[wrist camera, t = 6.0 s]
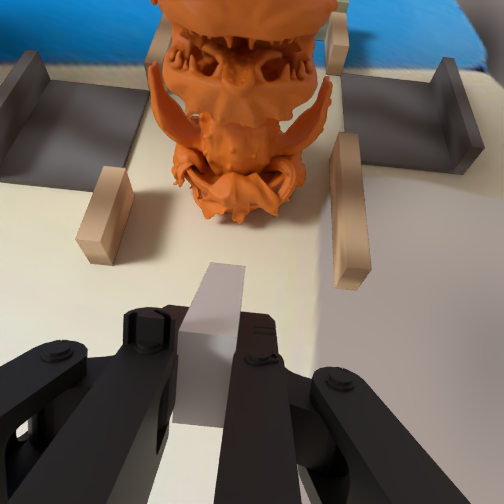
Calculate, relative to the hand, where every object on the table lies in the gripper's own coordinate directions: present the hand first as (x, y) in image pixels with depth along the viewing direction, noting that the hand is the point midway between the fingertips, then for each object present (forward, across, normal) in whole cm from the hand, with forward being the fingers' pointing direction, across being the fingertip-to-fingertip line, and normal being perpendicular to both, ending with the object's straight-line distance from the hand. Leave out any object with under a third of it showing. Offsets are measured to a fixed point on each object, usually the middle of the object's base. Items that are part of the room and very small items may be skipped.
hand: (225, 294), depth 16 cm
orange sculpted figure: (+15, -1, +3) cm, 15 cm away
